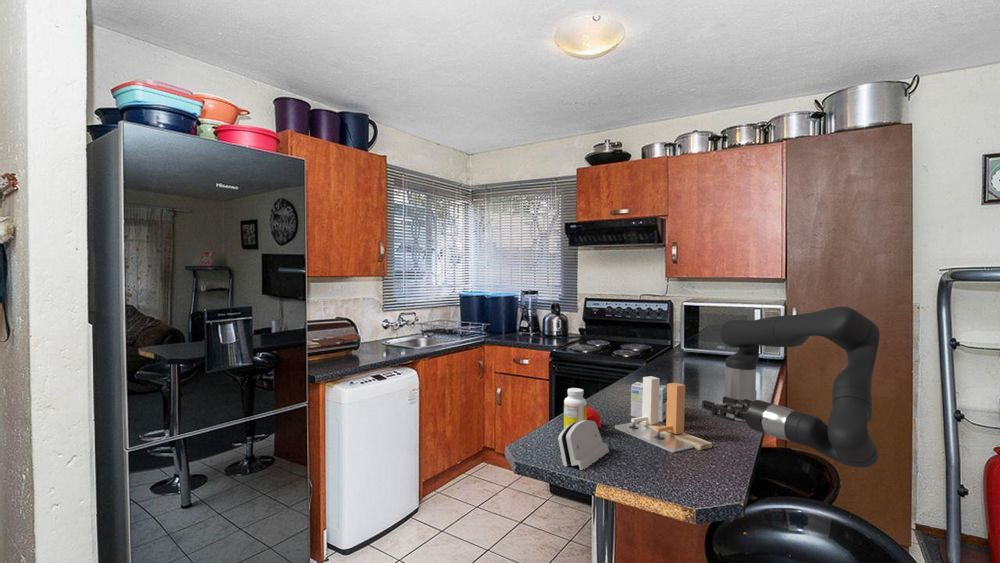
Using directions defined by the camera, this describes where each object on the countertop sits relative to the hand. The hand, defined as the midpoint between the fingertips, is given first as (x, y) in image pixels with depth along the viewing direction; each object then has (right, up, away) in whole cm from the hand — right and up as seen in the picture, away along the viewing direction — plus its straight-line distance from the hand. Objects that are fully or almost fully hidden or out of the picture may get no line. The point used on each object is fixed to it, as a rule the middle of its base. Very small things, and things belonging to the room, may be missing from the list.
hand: (713, 402), depth 124 cm
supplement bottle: (-36, -13, +12) cm, 40 cm away
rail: (-7, -13, +11) cm, 18 cm away
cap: (-30, -13, +19) cm, 38 cm away
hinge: (-37, -13, -6) cm, 39 cm away
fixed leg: (-13, -12, +18) cm, 25 cm away
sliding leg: (-9, -12, +9) cm, 17 cm away
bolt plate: (-14, -13, +10) cm, 21 cm away
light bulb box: (-8, -13, +30) cm, 34 cm away
